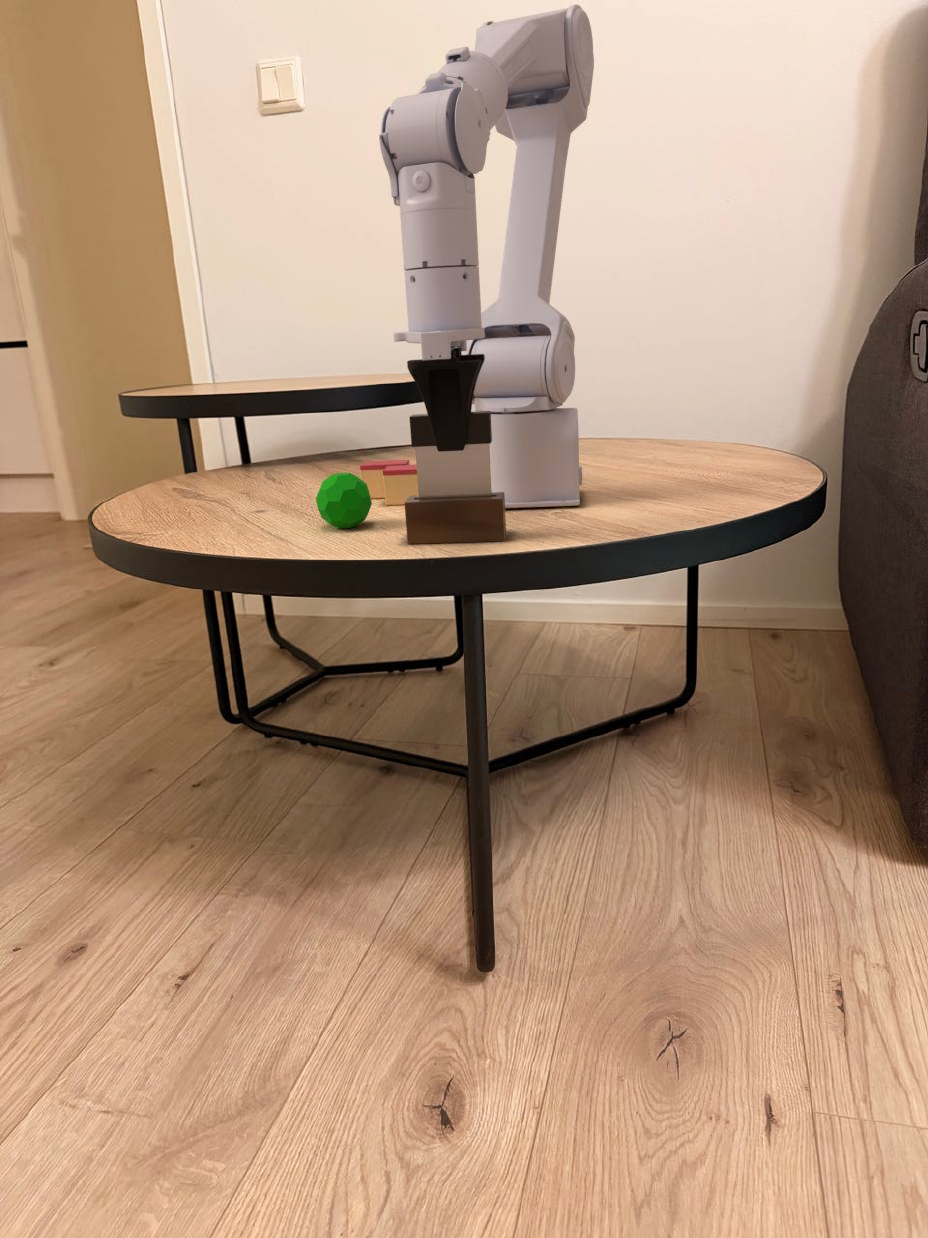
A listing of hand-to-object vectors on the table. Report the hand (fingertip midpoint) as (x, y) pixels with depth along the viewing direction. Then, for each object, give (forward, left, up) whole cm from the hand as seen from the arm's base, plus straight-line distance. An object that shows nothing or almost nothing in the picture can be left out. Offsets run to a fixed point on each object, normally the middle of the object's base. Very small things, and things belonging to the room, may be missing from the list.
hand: (452, 448), depth 74 cm
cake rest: (+6, -17, -7) cm, 20 cm away
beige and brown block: (0, 0, -4) cm, 4 cm away
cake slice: (+10, -21, -7) cm, 24 cm away
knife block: (0, 0, -7) cm, 7 cm away
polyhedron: (+11, -6, -8) cm, 15 cm away
